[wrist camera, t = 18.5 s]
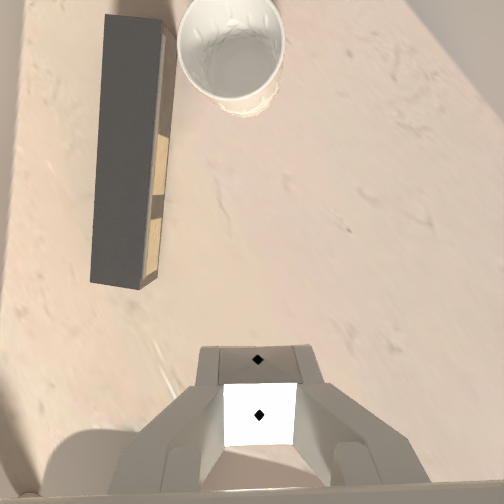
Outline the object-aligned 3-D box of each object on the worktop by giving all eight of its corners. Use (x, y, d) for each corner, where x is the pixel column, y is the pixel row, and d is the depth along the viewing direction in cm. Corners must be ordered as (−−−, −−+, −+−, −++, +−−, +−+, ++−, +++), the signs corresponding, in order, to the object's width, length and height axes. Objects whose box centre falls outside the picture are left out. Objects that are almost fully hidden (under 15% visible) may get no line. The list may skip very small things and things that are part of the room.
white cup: (281, 126, 37) (279, 103, 27) (203, 121, 37) (174, 97, 27) (288, 41, 35) (290, -17, 25) (208, 36, 36) (178, -21, 26)
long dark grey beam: (180, 43, 36) (163, 20, 31) (158, 278, 40) (141, 290, 35) (129, 37, 36) (105, 14, 31) (113, 270, 41) (89, 282, 36)
